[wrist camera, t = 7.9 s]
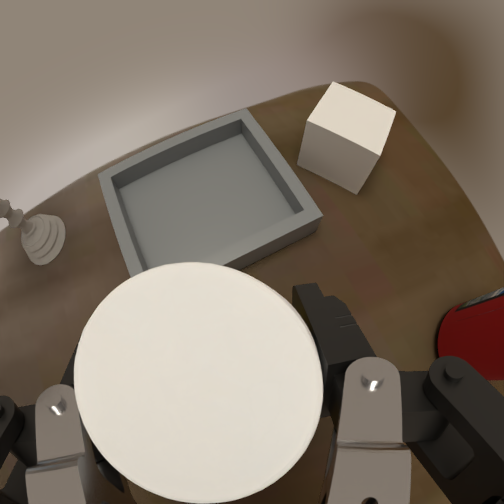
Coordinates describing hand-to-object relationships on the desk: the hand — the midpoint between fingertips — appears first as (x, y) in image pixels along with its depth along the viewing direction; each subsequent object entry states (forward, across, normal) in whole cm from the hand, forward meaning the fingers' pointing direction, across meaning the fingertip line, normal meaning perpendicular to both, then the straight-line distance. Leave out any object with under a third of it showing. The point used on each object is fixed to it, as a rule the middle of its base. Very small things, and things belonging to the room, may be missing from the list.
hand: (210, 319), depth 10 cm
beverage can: (+6, -20, +12) cm, 23 cm away
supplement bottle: (+2, 0, +4) cm, 5 cm away
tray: (+16, +1, +1) cm, 16 cm away
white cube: (+19, -12, -2) cm, 23 cm away
